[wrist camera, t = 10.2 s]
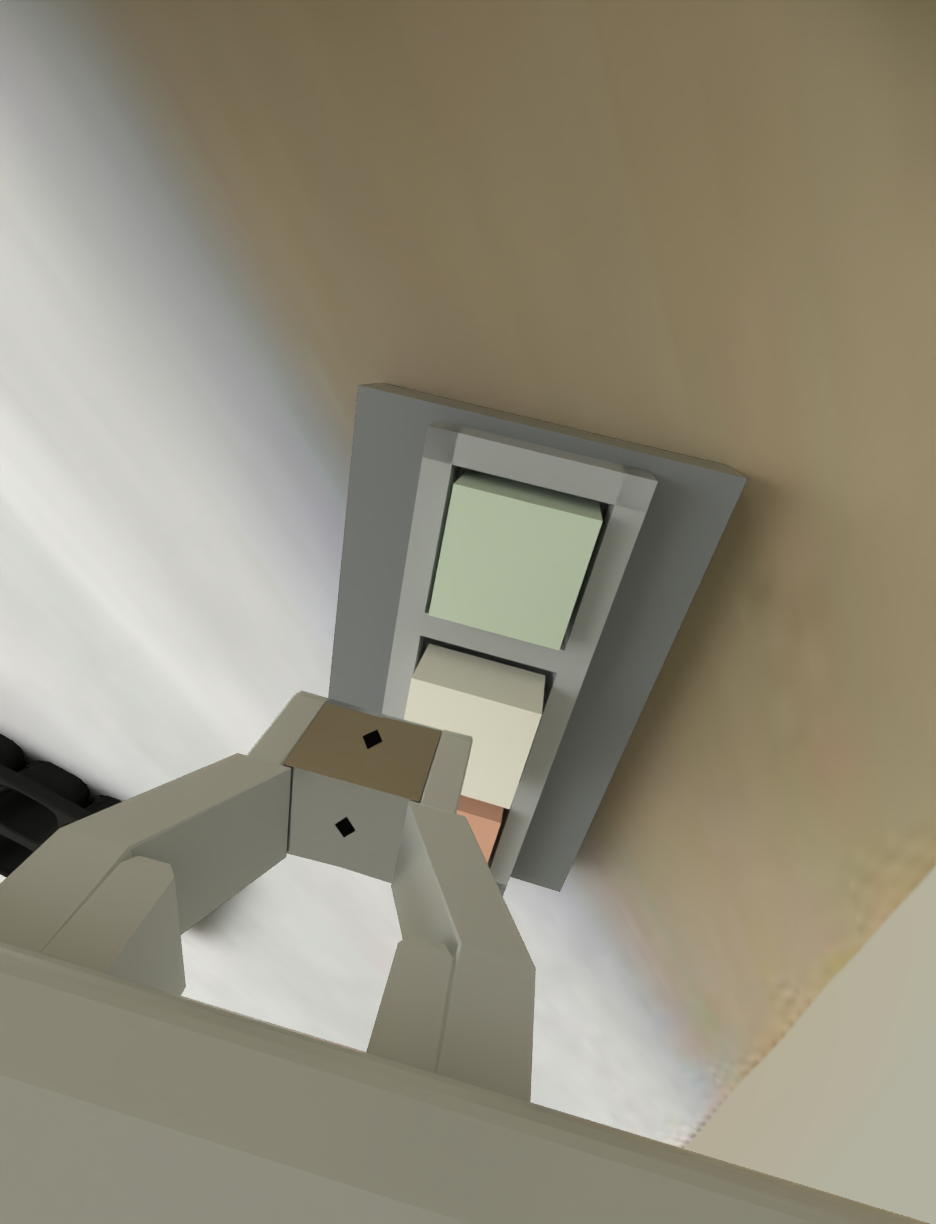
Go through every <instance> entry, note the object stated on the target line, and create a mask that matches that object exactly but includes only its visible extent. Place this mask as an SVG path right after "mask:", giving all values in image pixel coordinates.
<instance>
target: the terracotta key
mask: <svg viewBox="0 0 936 1224" xmlns="http://www.w3.org/2000/svg"><path fill="white" fill-rule="evenodd" d="M457 814H459V815H462V816H465V817H466V818H467V820H468V823H469V825H470V827H471V829H472V831H473V833H474V836H475V838H476V840H477V842H478V844H479V847H480V849H481V851H482V853H483V855H484V857H485V860H486V862H487V863H488V860H489V858H490V855H491V852H492V849H493V846H494V843H495V840H496V837H497V834H498V831H499V828H500V825H501V820H502V814H503V807H500V806H497V805H493V804H490V803H487V802H483V801H480V800H477V799H473V798H470V797H466V796H463V795H461V796H460V800H459V805H458V809H457Z"/></svg>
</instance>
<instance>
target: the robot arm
mask: <svg viewBox="0 0 936 1224" xmlns="http://www.w3.org/2000/svg"><path fill="white" fill-rule="evenodd" d="M472 743H473V739H472V736H468V735H464V734H460V733H456V732H452V731H448V730H442V729H438V728H434V727H430V726H426V725H422V724H419V723H415V722H411V721H407V720H403V719H400V718H396V717H392V716H388V715H385V714H381V713H378V712H374V711H371V710H368V709H364V708H361V707H357V706H354V705H351V704H347V703H344V702H341V701H337V700H334V699H328V698H325V697H322V696H318V695H315V694H311V693H308V692H305V691H300V692H299V693H297V694H295V695H294V696H293V697H292V698H291V700H290V701H289V702H288V704H287V705H286V706H285V707H284V709H283V710H282V711H281V712H280V714H279V715H278V716H277V717H276V719H275V720H274V721H273V723H272V724H271V725H270V726H269V728H268V729H267V730H266V731H265V733H264V734H263V735H262V736H261V738H260V739H259V740H258V742H257V743H256V744H255V745H254V747H253V748H252V749H251V750H250V752H249V753H248V754H247V755H243V754H239V753H236V754H234V755H232V756H229V757H227V758H225V759H222V760H220V761H218V762H215V763H213V764H210V765H208V766H206V767H203V768H201V769H199V770H196V771H194V772H192V773H189V774H187V775H184V776H182V777H180V778H177V779H175V780H173V781H170V782H168V783H166V784H163V785H161V786H158V787H156V788H154V789H151V790H149V791H147V792H144V793H142V794H140V795H137V796H135V797H132V798H130V799H128V800H125V801H123V802H121V803H118V804H116V805H114V806H111V807H109V808H106V809H104V810H102V811H99V812H97V813H95V814H92V815H90V816H88V817H85V818H83V819H80V820H78V821H76V822H73V823H71V824H69V825H66V826H64V827H62V828H59V829H58V830H57V831H56V832H55V833H54V834H53V835H52V836H51V837H50V838H49V839H48V840H47V841H45V842H44V843H43V844H42V845H41V846H40V847H39V848H38V849H37V850H36V851H35V852H34V853H33V854H32V855H31V856H29V857H28V858H27V859H26V860H25V861H24V862H23V863H22V864H21V865H20V866H19V867H18V868H17V869H16V870H15V871H13V872H12V873H11V874H10V875H9V876H8V877H7V878H6V879H5V880H4V881H3V882H2V883H1V884H0V1224H929V1223H926V1222H922V1221H919V1220H916V1219H913V1218H909V1217H906V1216H903V1215H899V1214H896V1213H893V1212H889V1211H886V1210H883V1209H880V1208H876V1207H873V1206H869V1205H866V1204H863V1203H860V1202H856V1201H853V1200H850V1199H847V1198H843V1197H840V1196H837V1195H833V1194H830V1193H826V1192H823V1191H820V1190H817V1189H814V1188H810V1187H807V1186H804V1185H801V1184H797V1183H794V1182H791V1181H787V1180H784V1179H780V1178H778V1177H774V1176H771V1175H768V1174H764V1173H761V1172H758V1171H754V1170H751V1169H748V1168H745V1167H741V1166H738V1165H735V1164H731V1163H728V1162H725V1161H722V1160H718V1159H715V1158H711V1157H708V1156H705V1155H702V1154H699V1153H695V1152H692V1151H689V1150H685V1149H682V1148H679V1147H675V1146H672V1145H669V1144H666V1143H662V1142H659V1141H656V1140H652V1139H649V1138H646V1137H643V1136H639V1135H636V1134H633V1133H629V1132H626V1131H623V1130H620V1129H616V1128H613V1127H610V1126H607V1125H603V1124H600V1123H597V1122H593V1121H590V1120H587V1119H584V1118H580V1117H577V1116H574V1115H570V1114H567V1113H564V1112H561V1111H557V1110H554V1109H551V1108H547V1107H544V1106H541V1105H538V1104H534V1103H531V1102H530V1097H531V1072H532V1046H533V1021H534V996H535V971H536V968H535V966H534V964H533V962H532V959H531V957H530V955H529V953H528V951H527V949H526V946H525V944H524V942H523V940H522V938H521V936H520V933H519V931H518V929H517V927H516V925H515V923H514V920H513V918H512V916H511V914H510V912H509V910H508V907H507V905H506V903H505V901H504V899H503V896H502V894H501V892H500V890H499V888H498V886H497V883H496V881H495V879H494V877H493V875H492V873H491V870H490V868H489V866H488V864H487V862H486V860H485V857H484V855H483V853H482V851H481V849H480V847H479V844H478V842H477V840H476V838H475V836H474V833H473V831H472V829H471V827H470V825H469V823H468V820H467V818H466V817H465V816H462V815H459V814H457V809H458V805H459V800H460V796H461V792H462V787H463V783H464V778H465V774H466V769H467V765H468V761H469V756H470V752H471V747H472ZM287 853H288V854H292V855H296V856H300V857H304V858H307V859H311V860H315V861H319V862H323V863H327V864H331V865H335V866H339V867H342V868H345V869H348V870H352V871H355V872H358V873H361V874H364V875H367V876H370V877H374V878H377V879H380V880H383V881H386V882H389V883H392V885H391V888H392V892H393V897H394V901H395V906H396V910H397V915H398V919H399V924H400V928H401V933H402V938H403V940H402V941H401V942H399V943H398V946H397V949H396V953H395V956H394V959H393V963H392V966H391V970H390V973H389V977H388V980H387V983H386V987H385V990H384V994H383V997H382V1001H381V1004H380V1007H379V1011H378V1014H377V1018H376V1021H375V1025H374V1028H373V1031H372V1035H371V1038H370V1042H369V1045H368V1048H367V1052H364V1051H360V1050H357V1049H354V1048H351V1047H347V1046H344V1045H341V1044H337V1043H334V1042H331V1041H328V1040H324V1039H321V1038H318V1037H314V1036H311V1035H308V1034H305V1033H301V1032H298V1031H295V1030H292V1029H288V1028H285V1027H282V1026H278V1025H275V1024H272V1023H269V1022H265V1021H262V1020H259V1019H255V1018H252V1017H249V1016H246V1015H242V1014H239V1013H236V1012H232V1011H229V1010H226V1009H223V1008H219V1007H216V1006H213V1005H209V1004H206V1003H203V1002H200V1001H196V1000H193V999H190V998H186V997H183V996H181V994H182V992H183V991H184V989H185V987H186V984H185V974H184V964H183V955H182V945H181V934H183V933H184V932H185V931H187V930H188V929H189V928H191V927H192V926H194V925H195V924H196V923H198V922H199V921H200V920H202V919H203V918H204V917H206V916H207V915H208V914H210V913H211V912H212V911H214V910H215V909H217V908H218V907H219V906H221V905H222V904H223V903H225V902H226V901H227V900H229V899H230V898H231V897H233V896H234V895H235V894H237V893H238V892H239V891H241V890H242V889H244V888H245V887H246V886H248V885H249V884H250V883H252V882H253V881H254V880H256V879H257V878H258V877H260V876H261V875H262V874H264V873H265V872H267V871H268V870H269V869H271V868H272V867H273V866H275V865H276V864H277V863H279V862H280V861H281V860H283V859H284V858H285V857H286V854H287Z"/></svg>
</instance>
